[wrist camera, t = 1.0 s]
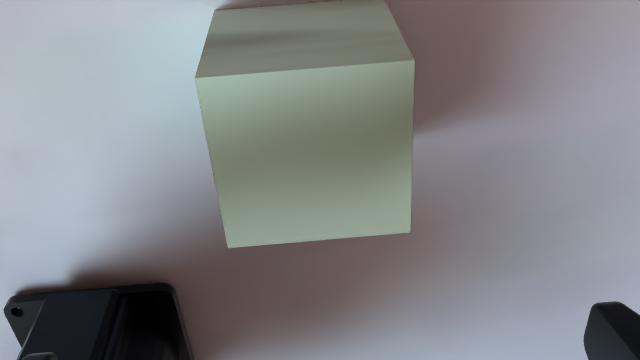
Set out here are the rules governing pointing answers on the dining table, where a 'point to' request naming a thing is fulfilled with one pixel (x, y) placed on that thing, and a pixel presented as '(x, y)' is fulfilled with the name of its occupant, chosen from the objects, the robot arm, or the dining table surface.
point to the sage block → (308, 121)
